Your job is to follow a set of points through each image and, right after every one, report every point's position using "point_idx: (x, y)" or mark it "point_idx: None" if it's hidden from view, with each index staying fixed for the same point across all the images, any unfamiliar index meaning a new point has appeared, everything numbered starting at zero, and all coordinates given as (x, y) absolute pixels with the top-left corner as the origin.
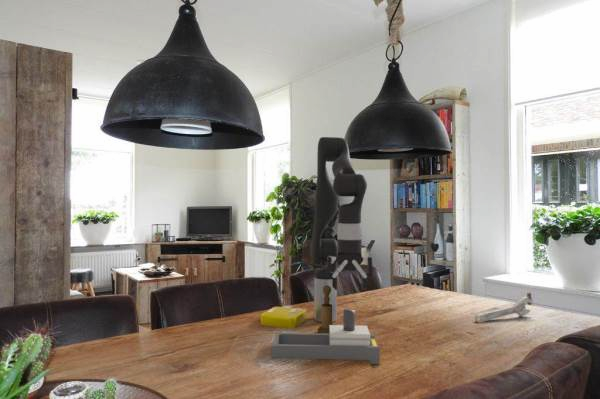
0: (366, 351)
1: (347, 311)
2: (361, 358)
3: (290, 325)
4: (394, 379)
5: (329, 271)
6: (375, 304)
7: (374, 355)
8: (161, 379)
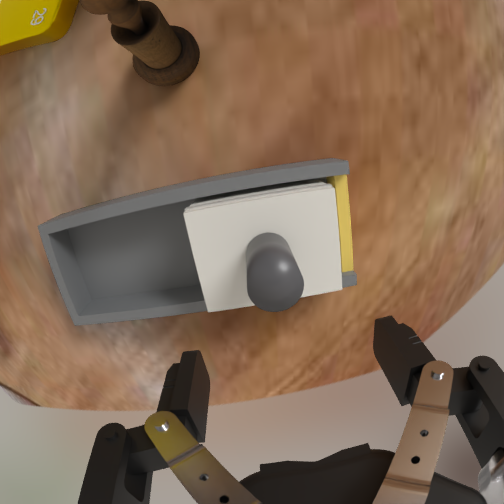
0: None
1: (269, 310)
2: None
3: (53, 38)
4: (361, 332)
5: (142, 484)
6: None
7: None
8: (12, 376)
